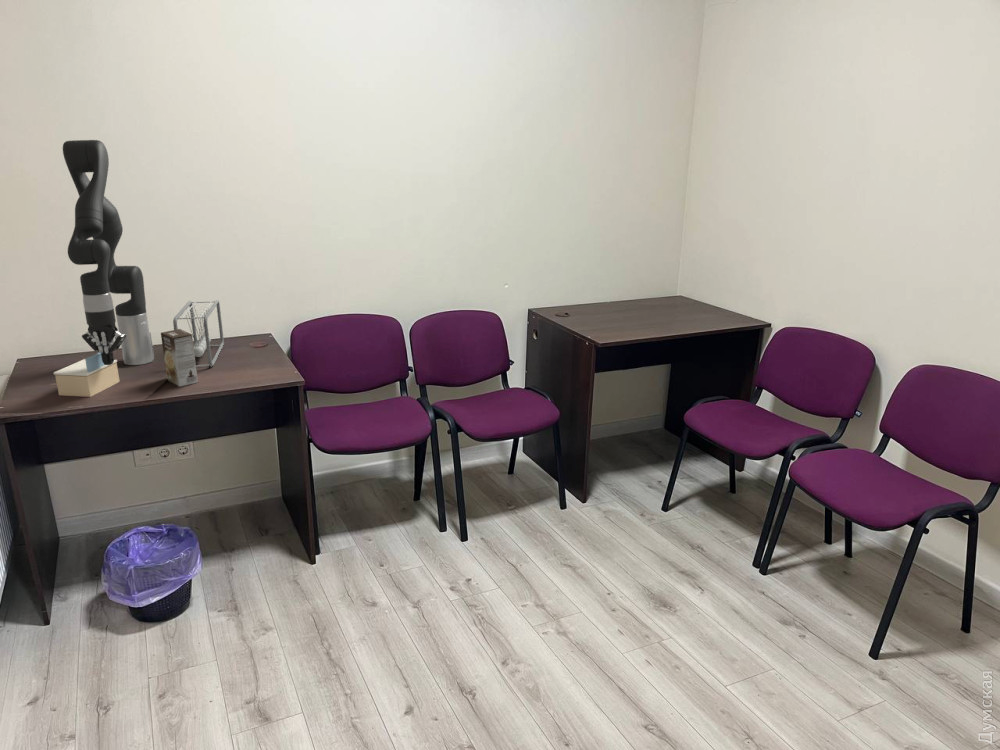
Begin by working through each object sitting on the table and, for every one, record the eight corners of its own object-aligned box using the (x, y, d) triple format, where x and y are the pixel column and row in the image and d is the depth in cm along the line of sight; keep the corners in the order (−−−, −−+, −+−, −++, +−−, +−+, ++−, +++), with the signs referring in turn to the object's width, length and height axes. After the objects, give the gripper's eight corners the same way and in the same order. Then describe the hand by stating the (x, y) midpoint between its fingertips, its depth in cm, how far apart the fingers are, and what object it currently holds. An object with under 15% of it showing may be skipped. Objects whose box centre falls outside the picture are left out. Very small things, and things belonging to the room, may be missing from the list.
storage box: (90, 382, 222) (86, 361, 220) (120, 384, 221) (116, 362, 219) (59, 397, 209) (55, 375, 207) (91, 399, 208) (87, 376, 206)
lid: (86, 360, 220) (83, 346, 219) (117, 361, 219) (115, 347, 218) (53, 374, 207) (50, 359, 205) (87, 376, 206) (84, 361, 204)
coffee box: (166, 380, 225) (159, 332, 220) (186, 376, 230) (179, 328, 225) (179, 387, 219) (172, 337, 214) (199, 382, 224) (193, 333, 219)
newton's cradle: (195, 346, 263) (189, 299, 258) (224, 345, 265) (219, 298, 260) (179, 370, 235) (172, 318, 230) (212, 368, 238) (206, 317, 232)
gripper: (128, 306, 209) (136, 361, 215) (86, 304, 211) (95, 359, 216) (112, 311, 202) (122, 369, 208) (69, 310, 203) (79, 367, 209)
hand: (108, 364), depth 212 cm, fingers closed
